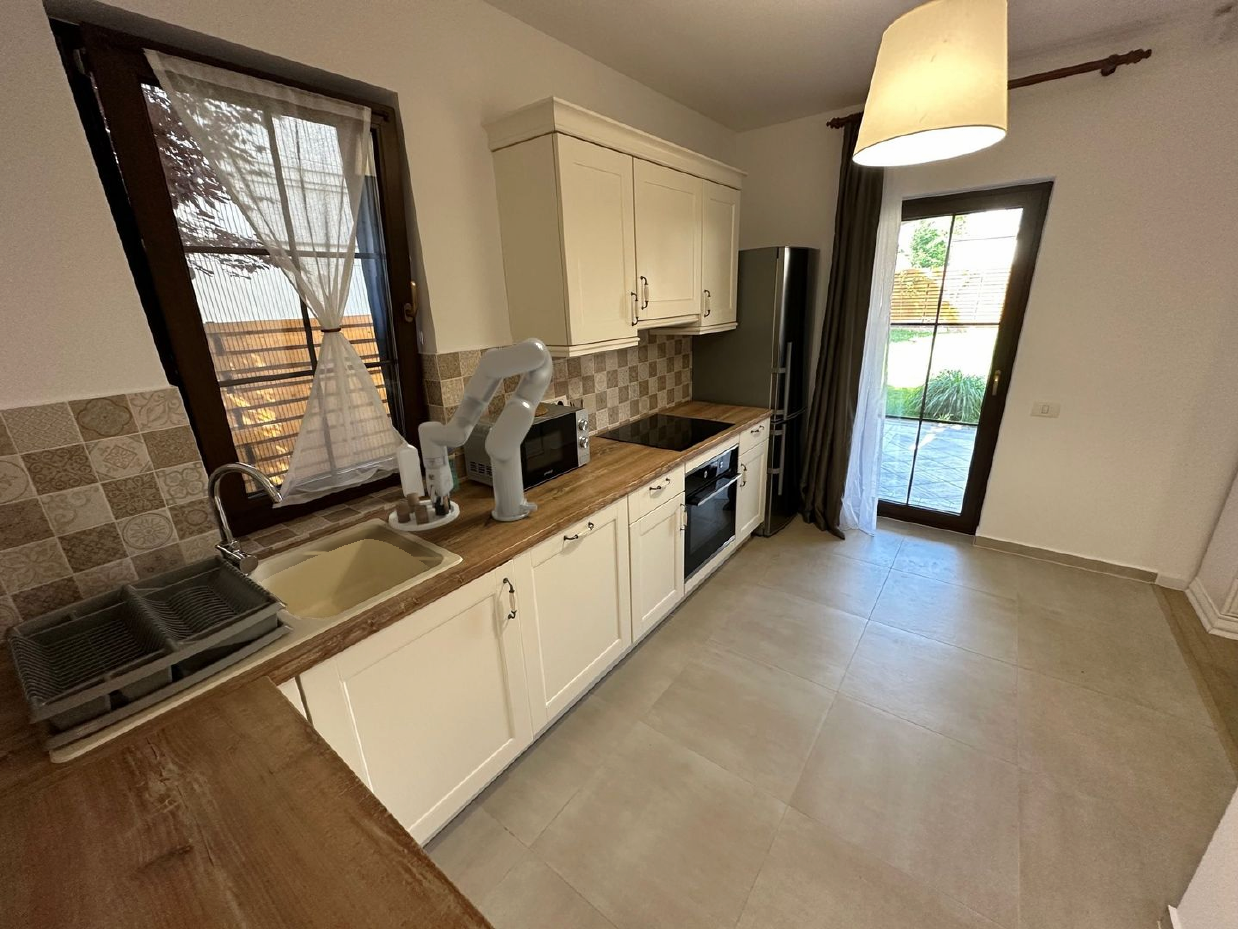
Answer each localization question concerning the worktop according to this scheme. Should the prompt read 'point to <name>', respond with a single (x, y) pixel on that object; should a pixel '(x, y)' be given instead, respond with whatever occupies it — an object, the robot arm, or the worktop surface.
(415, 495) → the seated bead
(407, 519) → the brown round peg
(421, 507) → the brown round peg
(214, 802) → the worktop surface
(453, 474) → the coffee jar
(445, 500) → the tan rounded cylinder
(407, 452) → the milk
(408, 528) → the groove tray
